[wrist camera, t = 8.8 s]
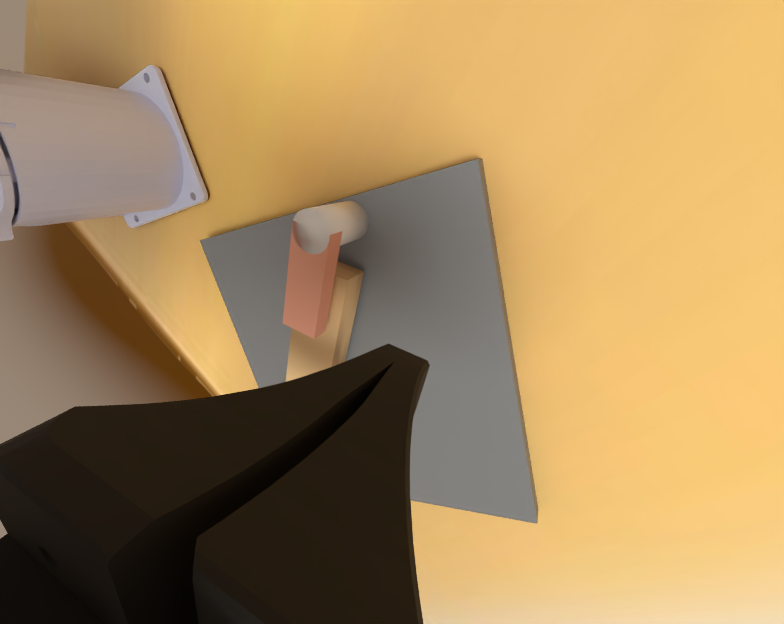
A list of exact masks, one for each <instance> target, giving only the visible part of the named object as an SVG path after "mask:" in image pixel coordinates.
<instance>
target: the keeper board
mask: <svg viewBox="0 0 784 624" xmlns="http://www.w3.org/2000/svg"><path fill="white" fill-rule="evenodd" d="M200 242H201V245H202V247H203V250H204V252H205V255H206V257H207V260H208V262H209V265H210V267H211V270H212V272H213V275H214V277H215V280H216V282H217V285H218V287H219V290H220V292H221V295H222V297H223V300H224V302H225V305H226V307H227V310H228V312H229V315H230V317H231V320H232V322H233V325H234V327H235V330H236V332H237V335H238V337H239V340H240V342H241V345H242V347H243V350H244V352H245V355H246V357H247V360H248V362H249V365H250V367H251V370H252V372H253V375H254V377H255V380H256V382H257V385H258V387H259V388H263V387H267V386H271V385H275V384H279V383H283V382H286V373H287V364H288V355H289V346H290V336H291V328H293V329H295V330H297V331H299V332H301V333H303V334H305V335H307V336H309V337H311V338H313V339H315V338H316V337H318V336H319V335H321V334H322V333H323V332H325V331H326V325H327V319H328V313H329V307H330V302H331V296H332V290H333V284H334V278H335V272H336V266H337V261H340V262H342V263H344V264H347V265H349V266H352V267H354V268H357V269H359V270H361V271H364V274H363V279H362V284H361V289H360V293H359V298H358V303H357V308H356V313H355V317H354V322H353V327H352V332H351V337H350V341H349V346H348V351H347V356H346V361H347V360H350V359H352V358H355V357H357V356H360V355H362V354H364V353H367V352H369V351H371V350H374V349H376V348H378V347H381V346H383V345H386V344H388V343H389V344H391V345H393V346H396V347H398V348H400V349H402V350H405V351H407V352H409V353H412V354H414V355H416V356H419V357H421V358H423V359H425V360H428V363H429V365H430V367H429V370H428V373H427V376H426V379H425V383H424V386H423V389H422V392H421V395H420V398H419V401H418V405H417V408H416V411H415V414H414V416H413V424H412V435H411V449H410V500H412V501H417V502H423V503H428V504H434V505H439V506H445V507H450V508H455V509H461V510H466V511H472V512H477V513H482V514H488V515H493V516H499V517H504V518H510V519H515V520H520V521H526V522H531V523H537V519H538V505H537V499H536V493H535V486H534V480H533V474H532V467H531V461H530V455H529V449H528V442H527V436H526V430H525V424H524V417H523V411H522V405H521V399H520V392H519V386H518V380H517V374H516V367H515V361H514V355H513V349H512V342H511V336H510V330H509V324H508V317H507V311H506V305H505V299H504V292H503V286H502V280H501V274H500V267H499V261H498V255H497V249H496V242H495V236H494V230H493V224H492V217H491V211H490V205H489V199H488V192H487V186H486V180H485V174H484V167H483V161H482V159H475V160H472V161H468V162H465V163H462V164H458V165H455V166H451V167H448V168H445V169H441V170H438V171H434V172H431V173H428V174H424V175H421V176H418V177H414V178H411V179H407V180H404V181H401V182H397V183H394V184H390V185H387V186H384V187H380V188H377V189H373V190H370V191H367V192H363V193H360V194H356V195H353V196H350V197H346V198H343V199H339V200H336V201H333V202H329V203H326V204H323V205H319V206H316V207H311V208H305V209H302V210H300V211H298V212H295V213H292V214H289V215H285V216H282V217H278V218H275V219H272V220H268V221H265V222H261V223H258V224H255V225H251V226H248V227H244V228H241V229H238V230H234V231H231V232H227V233H224V234H221V235H217V236H214V237H211V238H207V239H204V240H200Z"/></svg>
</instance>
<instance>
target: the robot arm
mask: <svg viewBox="0 0 784 624" xmlns="http://www.w3.org/2000/svg"><path fill="white" fill-rule="evenodd" d="M207 199H208V193H207V190H206V188H205V185H204V182H203V180H202V177H201V174H200V172H199V169H198V167H197V164H196V161H195V159H194V156H193V153H192V151H191V148H190V145H189V143H188V140H187V138H186V135H185V132H184V130H183V127H182V124H181V122H180V119H179V117H178V114H177V111H176V109H175V106H174V103H173V101H172V98H171V95H170V93H169V90H168V88H167V85H166V82H165V80H164V77H163V74H162V72H161V70H160V69H159V68H158V67H157V66H154V65H148V66H147V67H145V68H144V69H143V70H141V71H140V72H139V73H138V74H136V75H135V76H134V77H132V78H131V79H130V80H128V81H127V82H126V83H124V84H123V85H122V86H120V87H119V88H118V89H117V88H111V87H105V86H99V85H93V84H87V83H81V82H75V81H69V80H63V79H57V78H51V77H45V76H39V75H33V74H27V73H21V72H14V71H9V70H3V69H0V241H5V240H12V239H13V238H14V236H13V232H12V227H14V226H39V225H48V224H56V223H64V222H73V221H81V220H89V219H98V218H106V217H115V216H123V217H124V219H125V221H126V223H127V225H128V226H129V227H131V228H136V227H139V226H142V225H145V224H147V223H150V222H153V221H155V220H158V219H161V218H163V217H166V216H169V215H171V214H174V213H177V212H179V211H182V210H185V209H187V208H190V207H193V206H195V205H198V204H201V203H203V202H206V201H207ZM429 367H430V365H429V363H428V360H425V359H423V358H421V357H419V356H416V355H414V354H412V353H409V352H407V351H405V350H402V349H400V348H398V347H396V346H393V345H391V344H389V343H388V344H386V345H383V346H381V347H378V348H376V349H374V350H371V351H369V352H367V353H364V354H362V355H360V356H357V357H355V358H352V359H350V360H347V361H345V362H342V363H340V364H337V365H335V366H332V367H330V368H327V369H324V370H321V371H318V372H315V373H312V374H309V375H306V376H303V377H300V378H297V379H294V380H290V381H287V382H283V383H279V384H275V385H271V386H267V387H263V388H258V389H253V390H248V391H242V392H237V393H231V394H225V395H219V396H214V397H207V398H199V399H191V400H183V401H174V402H173V401H172V402H162V403H149V404H132V405H109V406H83V407H81V406H79V407H74V408H72V409H69V410H68V411H66V412H64V413H62V414H60V415H58V416H56V417H54V418H52V419H50V420H48V421H46V422H44V423H42V424H40V425H38V426H36V427H34V428H32V429H30V430H28V431H26V432H24V433H22V434H20V435H18V436H16V437H14V438H12V439H10V440H8V441H6V442H4V443H2V444H0V520H1V522H2V524H3V526H4V527H5V529H6V531H7V533H8V534H7V535H5V536H4V537H2V538H1V539H0V624H423V618H422V612H421V605H420V597H419V590H418V582H417V575H416V565H415V556H414V546H413V534H412V518H411V502H410V449H411V435H412V424H413V416H414V414H415V411H416V408H417V405H418V401H419V398H420V395H421V392H422V389H423V386H424V383H425V379H426V376H427V373H428V370H429Z"/></svg>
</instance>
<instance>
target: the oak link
mask: <svg viewBox="0 0 784 624" xmlns="http://www.w3.org/2000/svg"><path fill="white" fill-rule="evenodd" d="M363 274H364V271H361V270H359V269H357V268H354V267H352V266H349V265H347V264H344V263H342V262H340V261H337V266H336V272H335V278H334V284H333V290H332V296H331V302H330V307H329V313H328V319H327V325H326V331H325V332H323V333H322V334H321V335H319V336H318V337H316V338H315V339H313V338H311V337H309V336H307V335H305V334H303V333H301V332H299V331H297V330H295V329H293V328H291V336H290V346H289V355H288V364H287V373H286V382H287V381H290V380H294V379H297V378H300V377H303V376H306V375H309V374H312V373H315V372H318V371H321V370H324V369H327V368H330V367H332V366H335V365H337V364H340V363H342V362H345V361H346V356H347V351H348V346H349V341H350V337H351V332H352V327H353V322H354V317H355V313H356V308H357V303H358V298H359V293H360V289H361V284H362V279H363Z"/></svg>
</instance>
